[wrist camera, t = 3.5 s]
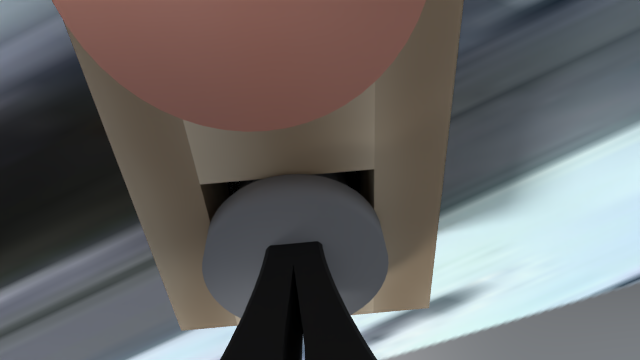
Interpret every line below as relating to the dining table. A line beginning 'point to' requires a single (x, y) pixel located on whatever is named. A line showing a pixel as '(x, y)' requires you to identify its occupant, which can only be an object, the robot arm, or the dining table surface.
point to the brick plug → (243, 54)
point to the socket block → (295, 166)
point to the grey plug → (295, 236)
